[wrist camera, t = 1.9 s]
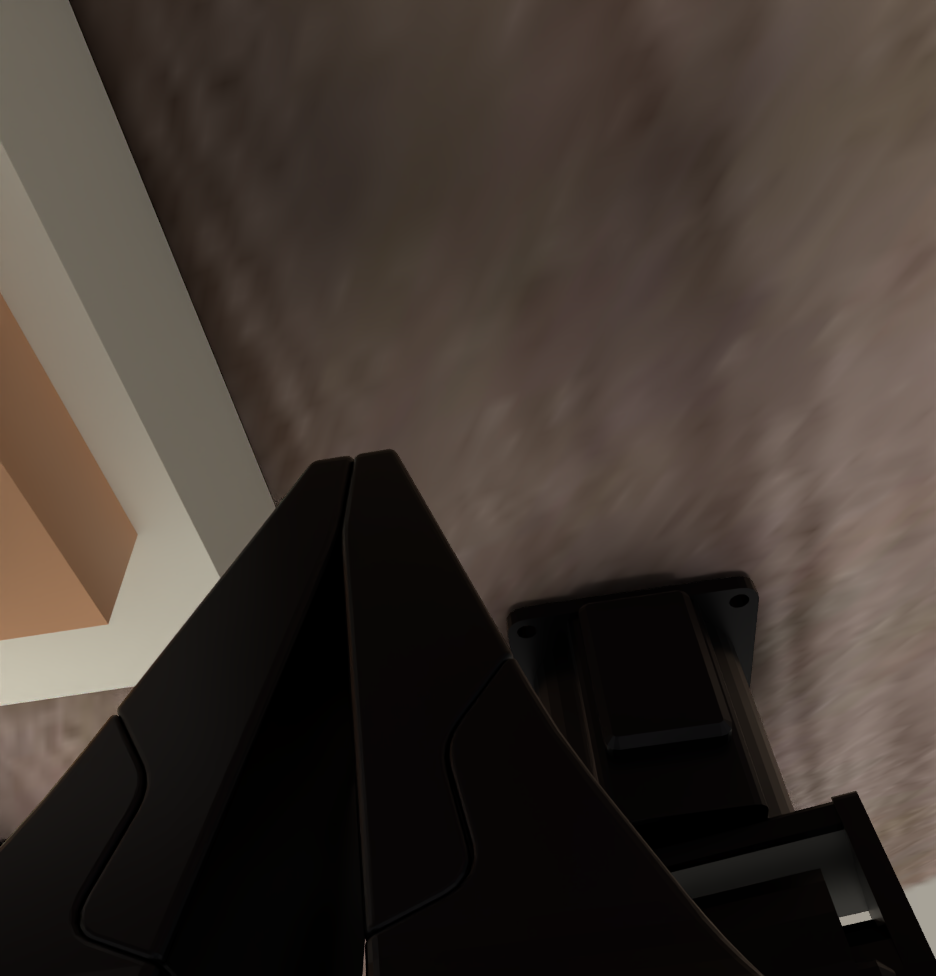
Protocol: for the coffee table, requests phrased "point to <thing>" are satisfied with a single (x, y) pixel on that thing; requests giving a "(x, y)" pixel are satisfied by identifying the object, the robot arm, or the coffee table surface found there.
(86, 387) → the cream flat block
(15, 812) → the coffee table surface
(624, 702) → the robot arm
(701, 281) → the coffee table surface
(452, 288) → the coffee table surface
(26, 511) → the tile
